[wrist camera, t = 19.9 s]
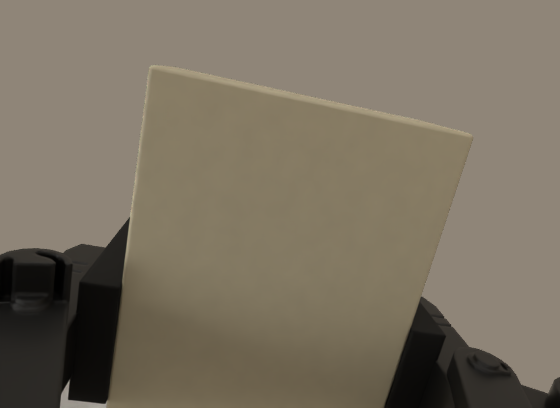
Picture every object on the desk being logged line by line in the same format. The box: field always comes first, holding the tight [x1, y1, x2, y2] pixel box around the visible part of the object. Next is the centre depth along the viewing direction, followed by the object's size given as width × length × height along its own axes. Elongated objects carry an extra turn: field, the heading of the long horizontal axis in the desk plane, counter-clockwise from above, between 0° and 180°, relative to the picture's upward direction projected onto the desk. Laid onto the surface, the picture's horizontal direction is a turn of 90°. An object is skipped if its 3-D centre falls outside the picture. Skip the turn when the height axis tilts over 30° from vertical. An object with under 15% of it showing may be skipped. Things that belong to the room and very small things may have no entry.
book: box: [106, 65, 473, 408], centre depth 11 cm, size 2×6×14 cm, turn 95°
